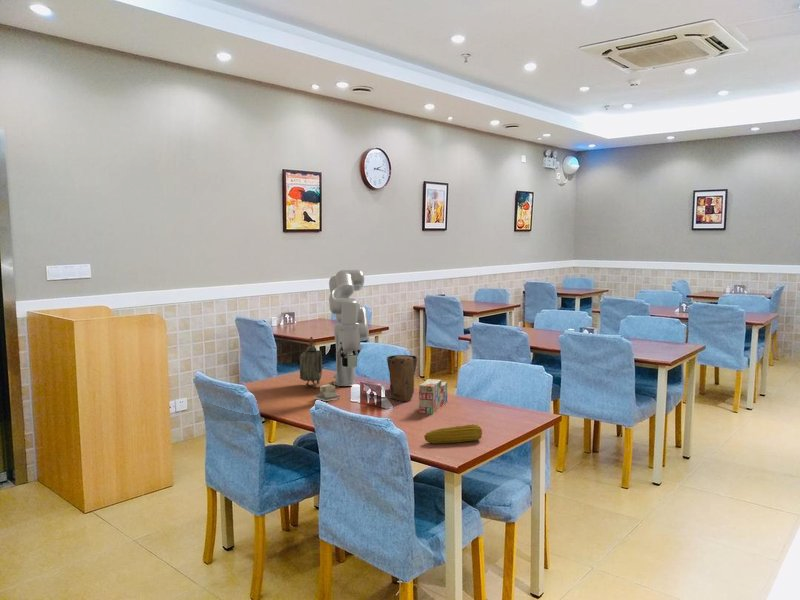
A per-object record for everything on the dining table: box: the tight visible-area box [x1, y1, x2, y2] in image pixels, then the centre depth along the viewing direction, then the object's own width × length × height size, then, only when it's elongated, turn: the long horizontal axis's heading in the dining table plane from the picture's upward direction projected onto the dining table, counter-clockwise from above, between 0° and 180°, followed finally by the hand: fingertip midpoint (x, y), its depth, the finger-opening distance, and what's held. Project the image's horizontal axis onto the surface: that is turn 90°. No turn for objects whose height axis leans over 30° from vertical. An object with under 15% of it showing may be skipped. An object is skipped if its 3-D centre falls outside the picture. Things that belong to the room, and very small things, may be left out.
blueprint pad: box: [314, 393, 341, 402], centre depth 269 cm, size 8×8×2 cm
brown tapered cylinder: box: [389, 354, 415, 402], centre depth 267 cm, size 11×8×20 cm
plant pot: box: [386, 354, 418, 376], centre depth 285 cm, size 15×15×16 cm
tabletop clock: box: [299, 336, 323, 390], centre depth 292 cm, size 14×9×25 cm, turn 0°
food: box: [424, 424, 483, 445], centre depth 208 cm, size 21×6×6 cm, turn 104°
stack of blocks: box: [418, 378, 448, 415], centre depth 253 cm, size 21×6×12 cm, turn 159°
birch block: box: [319, 383, 336, 398], centre depth 268 cm, size 5×5×5 cm
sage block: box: [344, 354, 358, 368], centre depth 272 cm, size 5×5×5 cm
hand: (349, 365), depth 272 cm, fingers closed on sage block, 5 cm apart
